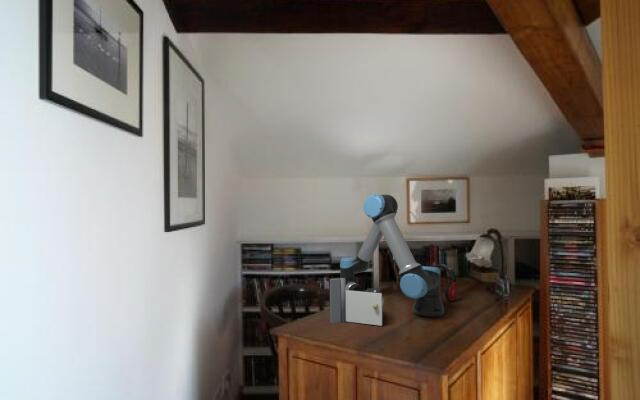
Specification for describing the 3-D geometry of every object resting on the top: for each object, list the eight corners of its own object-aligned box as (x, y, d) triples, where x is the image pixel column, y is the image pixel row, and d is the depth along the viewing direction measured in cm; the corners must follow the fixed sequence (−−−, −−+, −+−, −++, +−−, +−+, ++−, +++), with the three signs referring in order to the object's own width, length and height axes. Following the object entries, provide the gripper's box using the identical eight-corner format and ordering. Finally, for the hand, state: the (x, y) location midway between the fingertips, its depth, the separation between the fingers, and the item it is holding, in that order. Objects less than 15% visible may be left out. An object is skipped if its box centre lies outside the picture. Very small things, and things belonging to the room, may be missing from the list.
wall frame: (331, 323, 168) (331, 279, 168) (329, 322, 170) (329, 278, 170) (346, 322, 170) (346, 278, 170) (344, 320, 172) (343, 277, 173)
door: (344, 322, 168) (344, 291, 168) (346, 320, 171) (346, 290, 171) (380, 326, 162) (380, 294, 162) (382, 324, 164) (382, 293, 164)
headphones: (460, 301, 207) (460, 265, 207) (450, 304, 200) (450, 267, 201) (434, 295, 220) (433, 261, 221) (423, 297, 214) (423, 263, 215)
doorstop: (369, 299, 184) (382, 281, 171) (374, 316, 179) (389, 299, 166) (352, 300, 181) (365, 282, 168) (358, 318, 176) (371, 301, 163)
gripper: (371, 296, 193) (394, 308, 171) (337, 299, 187) (357, 312, 165) (371, 282, 193) (394, 292, 171) (337, 285, 187) (357, 295, 165)
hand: (376, 302), depth 168 cm, fingers closed on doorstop, 6 cm apart
